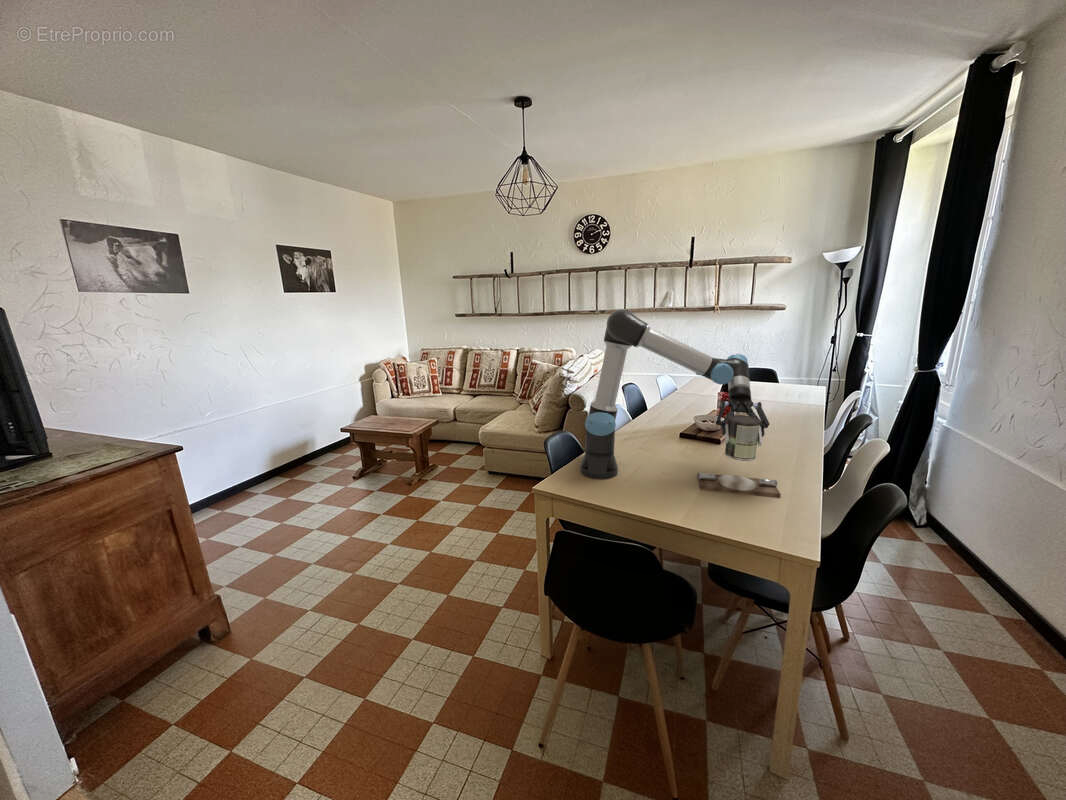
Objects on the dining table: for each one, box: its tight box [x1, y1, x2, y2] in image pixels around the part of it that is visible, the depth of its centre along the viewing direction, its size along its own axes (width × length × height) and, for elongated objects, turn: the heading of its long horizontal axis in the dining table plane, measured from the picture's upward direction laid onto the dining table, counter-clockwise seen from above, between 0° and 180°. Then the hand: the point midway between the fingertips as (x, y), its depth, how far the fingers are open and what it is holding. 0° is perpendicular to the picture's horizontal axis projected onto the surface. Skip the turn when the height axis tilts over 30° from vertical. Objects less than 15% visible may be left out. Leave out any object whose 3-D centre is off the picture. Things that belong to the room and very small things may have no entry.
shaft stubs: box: [698, 472, 778, 488], centre depth 152 cm, size 26×2×2 cm, turn 74°
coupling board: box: [696, 472, 781, 499], centre depth 152 cm, size 26×13×2 cm, turn 74°
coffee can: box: [724, 414, 760, 462], centre depth 148 cm, size 10×10×14 cm
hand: (743, 443), depth 145 cm, fingers closed on coffee can, 10 cm apart
